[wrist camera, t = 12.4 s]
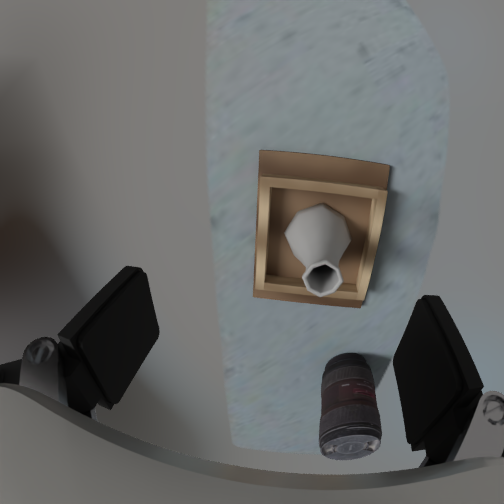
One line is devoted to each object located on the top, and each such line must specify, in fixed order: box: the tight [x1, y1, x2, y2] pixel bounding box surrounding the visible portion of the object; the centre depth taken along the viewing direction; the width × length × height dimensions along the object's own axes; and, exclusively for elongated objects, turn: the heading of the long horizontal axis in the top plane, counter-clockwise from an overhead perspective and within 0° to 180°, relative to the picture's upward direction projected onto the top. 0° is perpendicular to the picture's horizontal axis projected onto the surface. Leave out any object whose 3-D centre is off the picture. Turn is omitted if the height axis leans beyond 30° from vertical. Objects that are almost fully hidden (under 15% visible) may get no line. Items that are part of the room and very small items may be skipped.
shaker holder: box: [253, 150, 390, 308], centre depth 30 cm, size 18×14×3 cm
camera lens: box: [319, 353, 382, 460], centre depth 32 cm, size 8×8×15 cm
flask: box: [284, 203, 352, 297], centre depth 26 cm, size 7×7×10 cm
